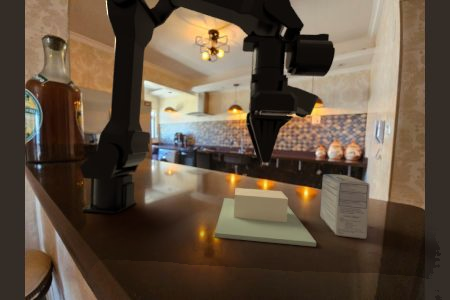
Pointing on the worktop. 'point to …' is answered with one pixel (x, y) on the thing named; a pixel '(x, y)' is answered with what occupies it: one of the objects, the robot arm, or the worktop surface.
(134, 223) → the worktop surface
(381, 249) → the worktop surface
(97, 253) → the worktop surface
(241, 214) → the block
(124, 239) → the worktop surface
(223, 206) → the mat
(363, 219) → the medicine box
